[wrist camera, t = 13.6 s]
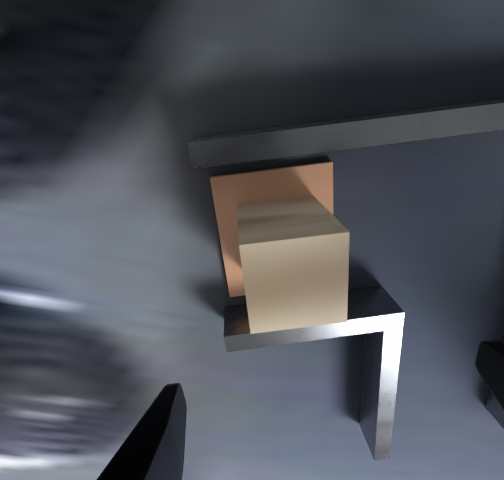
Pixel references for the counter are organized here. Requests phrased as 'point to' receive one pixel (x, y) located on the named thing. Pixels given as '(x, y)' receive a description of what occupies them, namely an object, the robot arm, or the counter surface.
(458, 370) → the counter surface
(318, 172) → the pad
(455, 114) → the channel
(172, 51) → the counter surface
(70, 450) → the counter surface
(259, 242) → the maple block
